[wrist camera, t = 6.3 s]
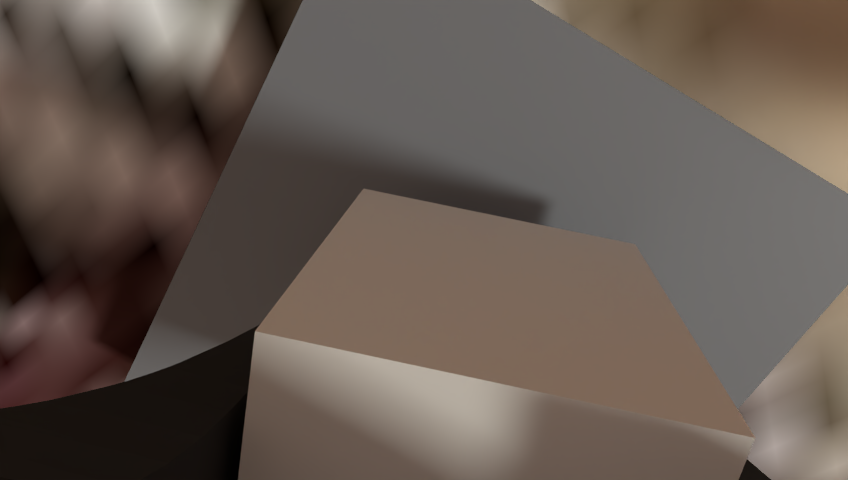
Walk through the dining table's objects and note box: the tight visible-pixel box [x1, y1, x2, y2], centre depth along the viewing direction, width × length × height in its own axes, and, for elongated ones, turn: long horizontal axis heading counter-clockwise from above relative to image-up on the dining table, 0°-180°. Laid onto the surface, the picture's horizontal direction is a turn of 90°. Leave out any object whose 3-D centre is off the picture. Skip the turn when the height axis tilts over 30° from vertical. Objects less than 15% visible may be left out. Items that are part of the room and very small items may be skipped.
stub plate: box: [125, 0, 848, 409], centre depth 14 cm, size 12×12×5 cm
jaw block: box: [238, 189, 755, 480], centre depth 10 cm, size 5×5×6 cm
